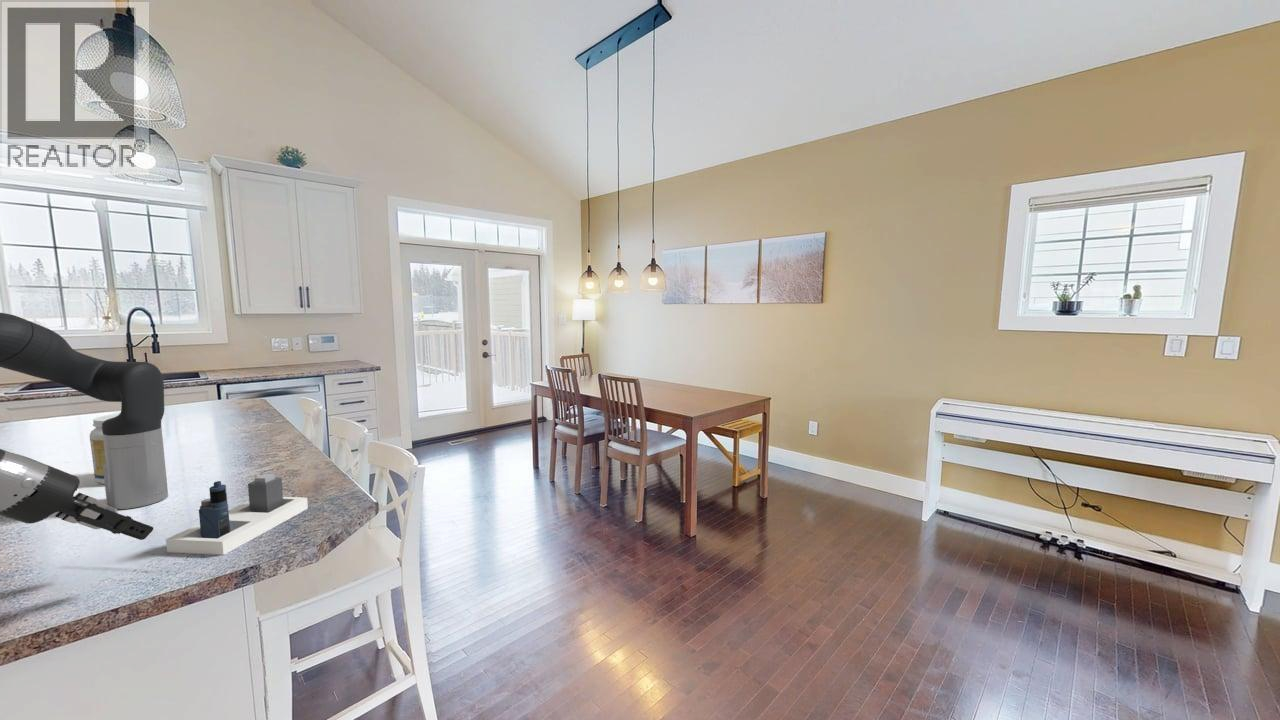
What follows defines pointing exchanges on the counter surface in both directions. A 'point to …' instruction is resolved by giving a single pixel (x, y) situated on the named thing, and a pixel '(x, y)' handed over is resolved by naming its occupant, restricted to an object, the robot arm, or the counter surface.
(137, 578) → the counter surface
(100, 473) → the supplement tub
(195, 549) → the dock
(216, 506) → the vaping device
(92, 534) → the counter surface
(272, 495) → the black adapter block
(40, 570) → the counter surface
